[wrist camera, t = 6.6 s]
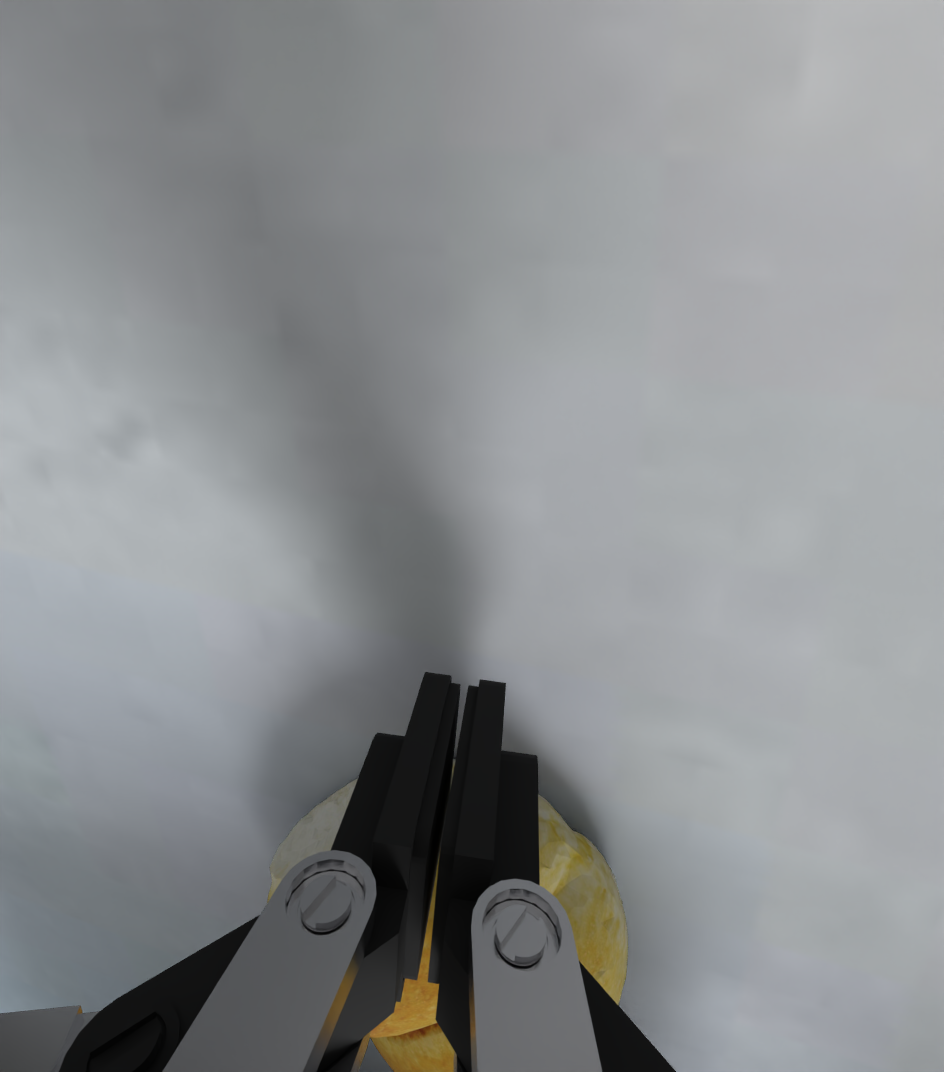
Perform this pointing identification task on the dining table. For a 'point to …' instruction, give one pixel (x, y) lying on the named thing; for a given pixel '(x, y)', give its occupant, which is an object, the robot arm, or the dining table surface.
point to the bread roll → (412, 1028)
